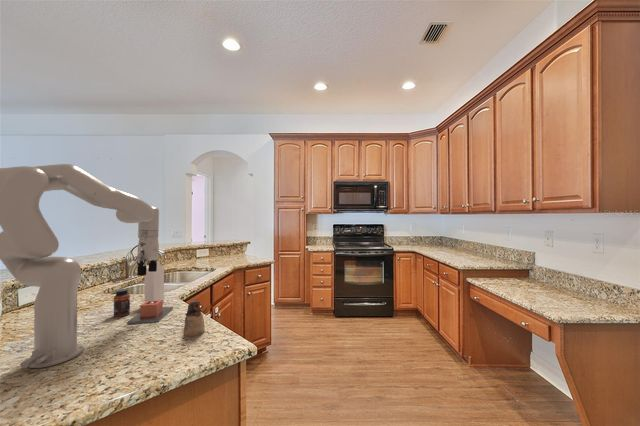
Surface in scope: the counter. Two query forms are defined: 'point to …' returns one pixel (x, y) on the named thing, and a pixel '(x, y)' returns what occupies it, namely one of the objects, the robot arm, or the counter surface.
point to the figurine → (194, 320)
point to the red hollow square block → (151, 308)
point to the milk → (154, 284)
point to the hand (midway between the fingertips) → (147, 273)
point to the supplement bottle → (121, 303)
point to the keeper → (150, 319)
